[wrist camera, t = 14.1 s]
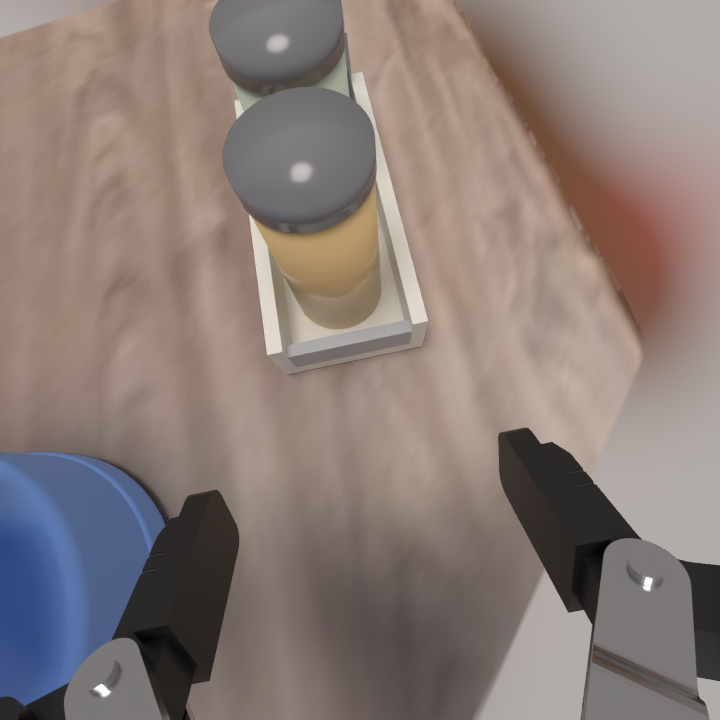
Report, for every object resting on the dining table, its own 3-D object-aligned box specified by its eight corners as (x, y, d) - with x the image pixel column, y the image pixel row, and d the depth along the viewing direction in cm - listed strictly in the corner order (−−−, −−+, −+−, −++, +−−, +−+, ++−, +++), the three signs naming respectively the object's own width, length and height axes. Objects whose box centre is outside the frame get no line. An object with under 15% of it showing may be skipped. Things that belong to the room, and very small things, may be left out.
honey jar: (287, 324, 24) (204, 203, 13) (305, 247, 25) (244, 83, 15) (375, 336, 23) (361, 218, 13) (389, 256, 25) (386, 90, 14)
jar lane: (422, 346, 24) (434, 294, 17) (287, 374, 24) (246, 334, 17) (365, 125, 29) (357, 19, 22) (255, 150, 29) (214, 52, 22)
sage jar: (274, 231, 26) (193, 62, 15) (291, 164, 27) (227, -32, 17) (355, 239, 25) (328, 68, 15) (368, 170, 27) (352, -31, 16)
